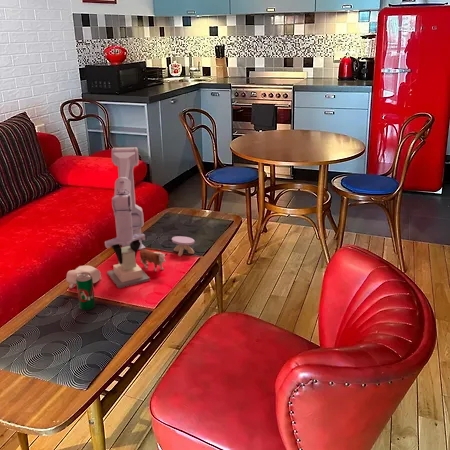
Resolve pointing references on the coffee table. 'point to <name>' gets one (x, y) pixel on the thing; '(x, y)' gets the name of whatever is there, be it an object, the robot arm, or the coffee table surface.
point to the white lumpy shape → (73, 273)
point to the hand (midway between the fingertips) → (127, 261)
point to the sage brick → (128, 258)
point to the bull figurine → (152, 258)
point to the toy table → (183, 244)
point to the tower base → (118, 283)
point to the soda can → (85, 291)
